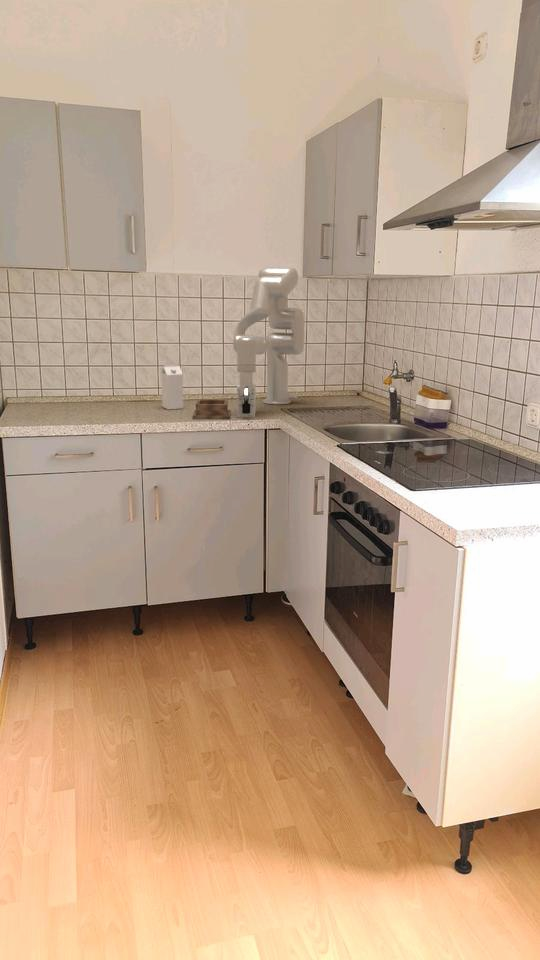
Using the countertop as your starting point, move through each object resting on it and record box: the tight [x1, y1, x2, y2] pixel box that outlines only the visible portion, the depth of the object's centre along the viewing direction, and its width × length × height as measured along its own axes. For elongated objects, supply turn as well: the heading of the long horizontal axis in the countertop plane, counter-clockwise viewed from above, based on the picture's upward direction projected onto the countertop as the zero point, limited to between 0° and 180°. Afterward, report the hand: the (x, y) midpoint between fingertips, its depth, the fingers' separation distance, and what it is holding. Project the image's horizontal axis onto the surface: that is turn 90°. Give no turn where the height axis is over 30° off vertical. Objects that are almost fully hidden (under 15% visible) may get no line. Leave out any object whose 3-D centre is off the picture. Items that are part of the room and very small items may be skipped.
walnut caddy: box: [191, 399, 232, 420], centre depth 288 cm, size 15×15×6 cm
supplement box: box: [236, 384, 256, 419], centre depth 288 cm, size 7×7×13 cm
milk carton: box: [160, 363, 184, 410], centre depth 303 cm, size 7×7×19 cm
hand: (246, 411), depth 289 cm, fingers closed on supplement box, 7 cm apart
